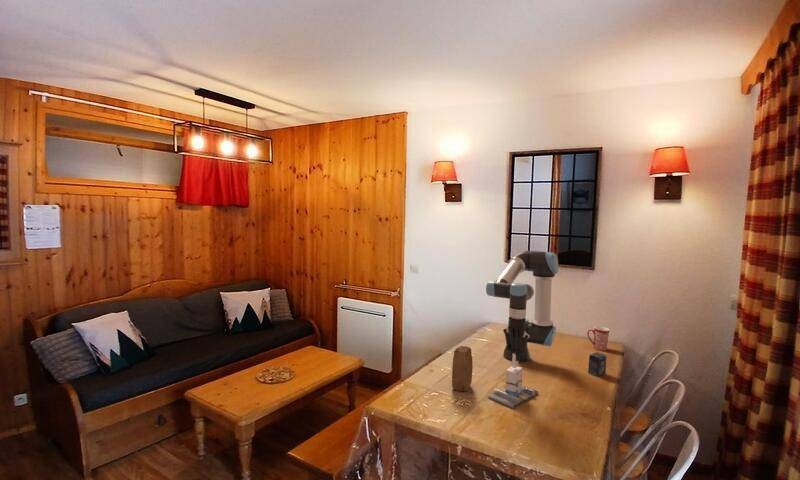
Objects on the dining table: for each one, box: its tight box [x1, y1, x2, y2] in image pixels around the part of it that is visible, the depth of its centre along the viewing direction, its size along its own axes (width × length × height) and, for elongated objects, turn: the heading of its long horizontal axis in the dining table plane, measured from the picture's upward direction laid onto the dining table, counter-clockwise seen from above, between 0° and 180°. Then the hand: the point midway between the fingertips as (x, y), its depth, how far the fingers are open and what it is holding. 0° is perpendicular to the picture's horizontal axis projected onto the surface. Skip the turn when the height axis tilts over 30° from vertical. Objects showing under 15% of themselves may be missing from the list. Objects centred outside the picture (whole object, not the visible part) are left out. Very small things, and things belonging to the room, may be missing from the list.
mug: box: [587, 326, 610, 352], centre depth 251 cm, size 13×9×14 cm
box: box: [587, 351, 608, 377], centre depth 211 cm, size 8×6×11 cm
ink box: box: [505, 365, 523, 396], centre depth 182 cm, size 9×5×12 cm, turn 142°
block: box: [451, 345, 474, 392], centre depth 189 cm, size 11×8×20 cm
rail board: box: [487, 385, 539, 410], centre depth 182 cm, size 13×22×3 cm, turn 132°
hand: (514, 366), depth 181 cm, fingers closed
